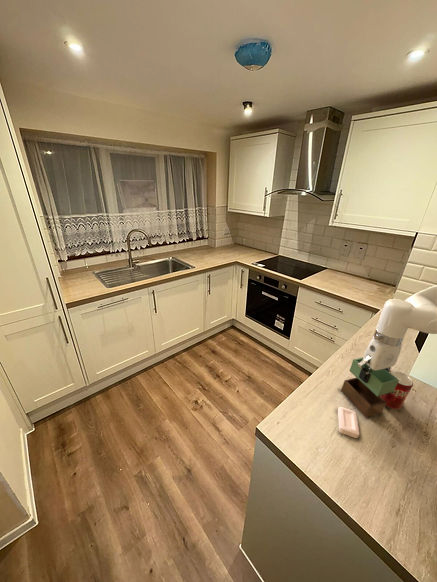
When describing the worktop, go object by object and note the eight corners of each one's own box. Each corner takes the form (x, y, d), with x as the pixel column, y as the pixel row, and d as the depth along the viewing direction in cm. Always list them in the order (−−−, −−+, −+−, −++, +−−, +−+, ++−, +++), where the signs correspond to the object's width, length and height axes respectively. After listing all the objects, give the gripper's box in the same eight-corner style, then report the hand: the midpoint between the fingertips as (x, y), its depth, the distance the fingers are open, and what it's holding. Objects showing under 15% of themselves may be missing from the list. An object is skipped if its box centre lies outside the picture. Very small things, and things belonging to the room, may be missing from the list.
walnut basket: (340, 390, 92) (344, 380, 89) (355, 386, 94) (359, 376, 91) (366, 417, 82) (371, 406, 79) (381, 412, 83) (386, 402, 81)
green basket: (349, 370, 87) (353, 359, 85) (364, 367, 89) (368, 355, 87) (377, 396, 77) (382, 384, 75) (393, 391, 79) (399, 379, 76)
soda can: (377, 391, 92) (387, 368, 87) (399, 398, 89) (411, 374, 84) (379, 405, 86) (390, 381, 81) (402, 413, 83) (416, 389, 78)
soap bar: (339, 433, 76) (341, 428, 75) (337, 410, 84) (339, 405, 83) (357, 439, 74) (359, 434, 73) (354, 415, 82) (356, 410, 81)
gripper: (377, 348, 69) (360, 391, 77) (419, 338, 74) (400, 380, 82) (356, 334, 76) (343, 375, 83) (397, 326, 80) (380, 365, 88)
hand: (371, 377), depth 82 cm, fingers closed on green basket, 7 cm apart
